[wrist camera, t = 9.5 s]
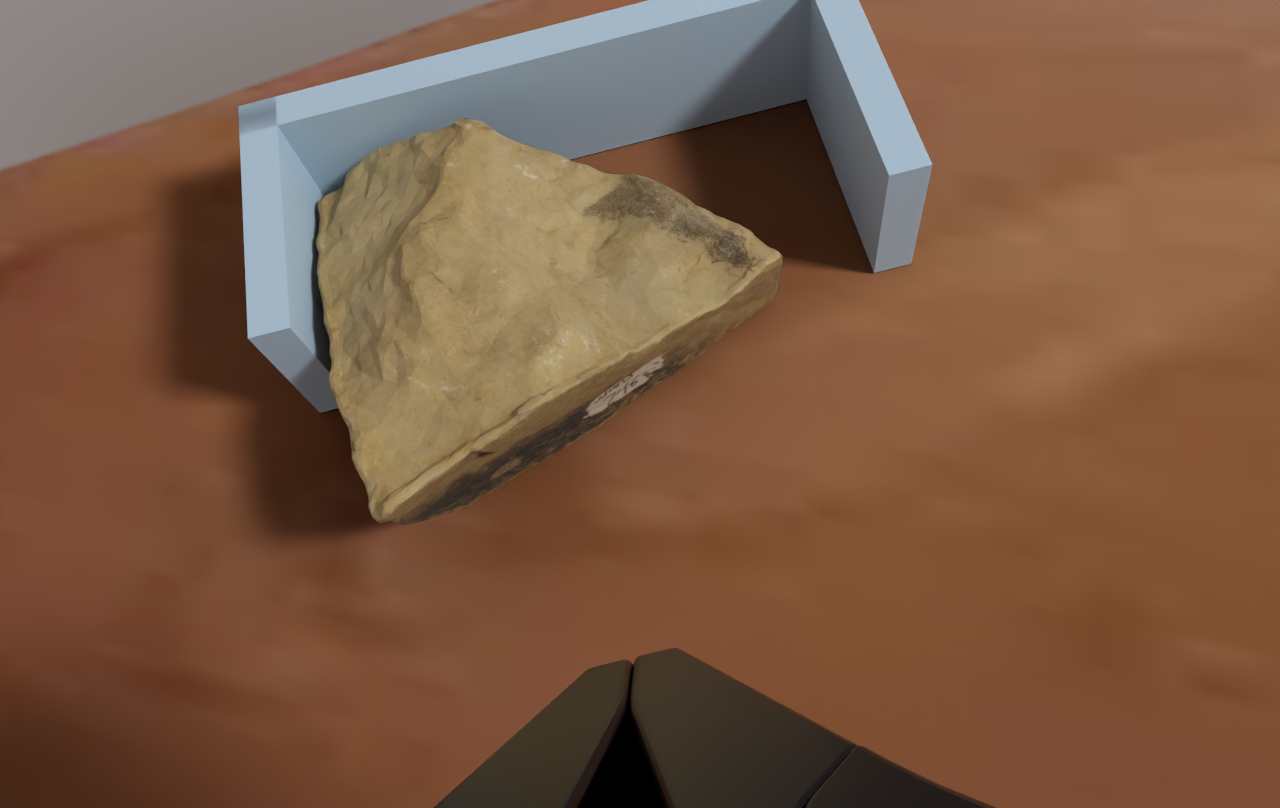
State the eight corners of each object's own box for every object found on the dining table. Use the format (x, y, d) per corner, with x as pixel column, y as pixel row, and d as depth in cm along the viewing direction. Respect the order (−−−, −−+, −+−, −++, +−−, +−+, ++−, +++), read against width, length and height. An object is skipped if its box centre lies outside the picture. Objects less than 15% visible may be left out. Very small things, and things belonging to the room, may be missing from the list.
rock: (783, 228, 29) (512, 404, 32) (607, -36, 25) (319, 189, 28) (861, 423, 19) (466, 648, 22) (598, 47, 16) (166, 372, 19)
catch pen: (911, 263, 26) (932, 164, 22) (319, 412, 26) (247, 338, 23) (829, 65, 29) (837, -49, 26) (303, 200, 30) (238, 106, 26)
